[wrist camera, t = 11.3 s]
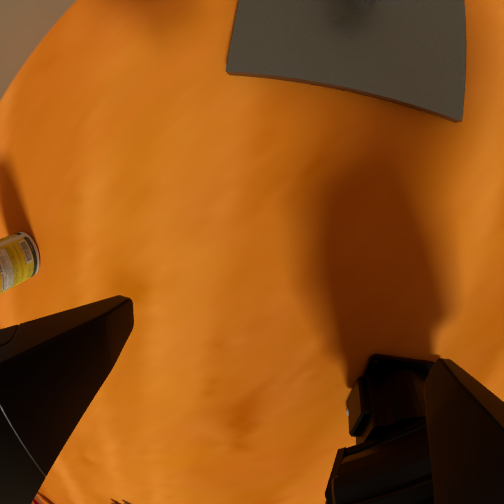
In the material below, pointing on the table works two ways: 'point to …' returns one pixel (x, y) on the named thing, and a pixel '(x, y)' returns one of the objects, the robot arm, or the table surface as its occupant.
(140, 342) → the table surface
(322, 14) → the hub
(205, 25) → the table surface
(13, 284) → the supplement bottle
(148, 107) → the table surface
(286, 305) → the table surface
